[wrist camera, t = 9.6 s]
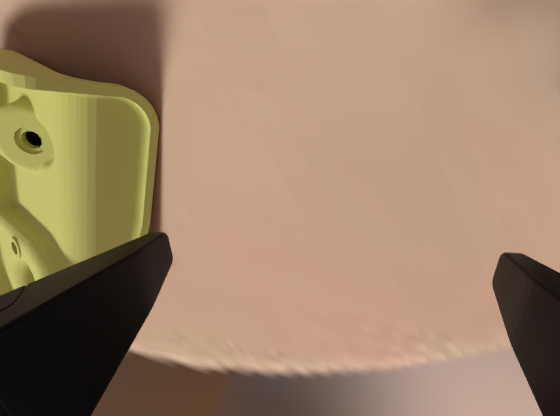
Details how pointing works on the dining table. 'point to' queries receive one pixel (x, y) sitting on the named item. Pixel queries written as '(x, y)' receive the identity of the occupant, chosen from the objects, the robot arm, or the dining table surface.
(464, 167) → the dining table surface
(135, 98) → the plastic component
